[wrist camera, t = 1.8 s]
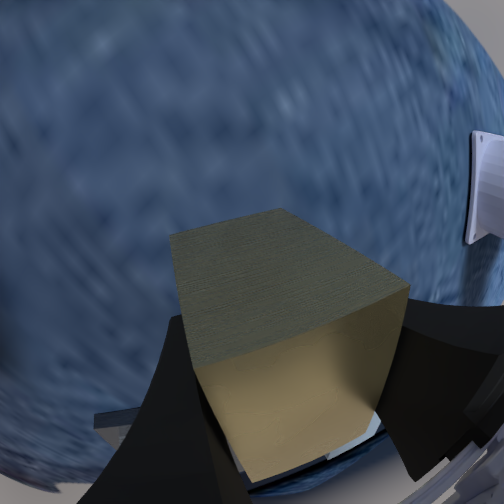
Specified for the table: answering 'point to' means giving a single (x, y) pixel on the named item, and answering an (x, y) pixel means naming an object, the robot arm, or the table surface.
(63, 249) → the table surface
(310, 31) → the table surface
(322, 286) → the brass block
